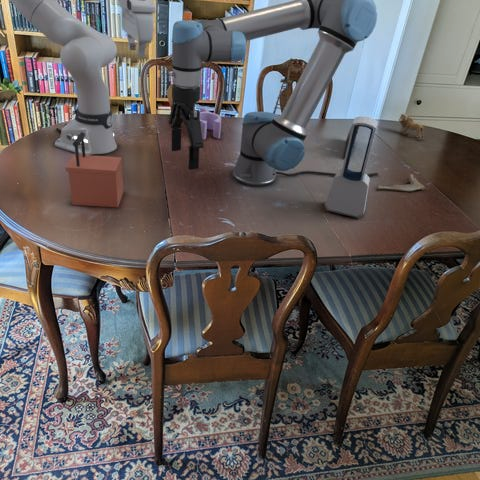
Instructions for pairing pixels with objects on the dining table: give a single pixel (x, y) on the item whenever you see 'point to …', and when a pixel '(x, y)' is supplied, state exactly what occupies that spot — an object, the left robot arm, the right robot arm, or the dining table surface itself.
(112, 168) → the lid
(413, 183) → the jawbone
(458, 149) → the dining table surface
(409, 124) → the lion figurine
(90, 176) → the chest
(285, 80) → the miniature windmill
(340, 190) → the electronic device
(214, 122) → the clip
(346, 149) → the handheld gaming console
